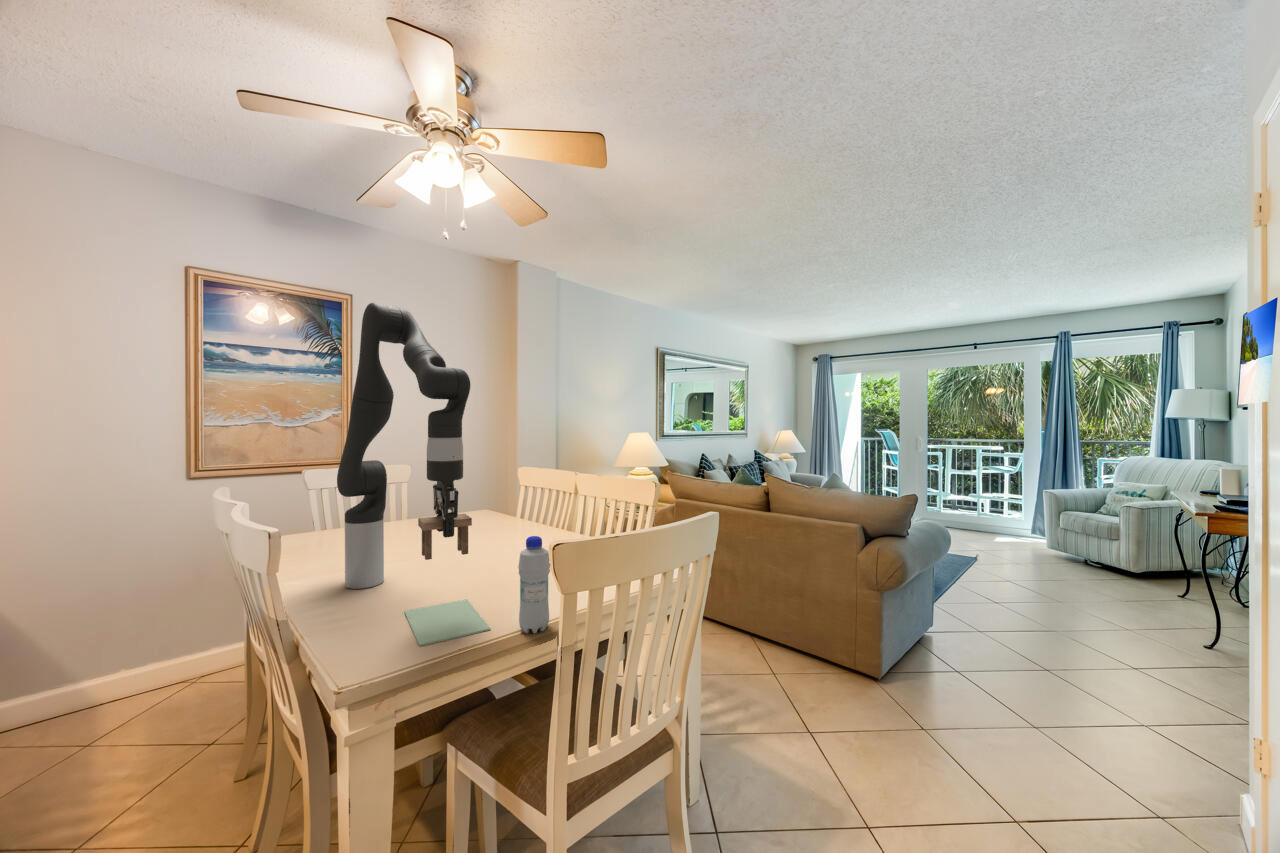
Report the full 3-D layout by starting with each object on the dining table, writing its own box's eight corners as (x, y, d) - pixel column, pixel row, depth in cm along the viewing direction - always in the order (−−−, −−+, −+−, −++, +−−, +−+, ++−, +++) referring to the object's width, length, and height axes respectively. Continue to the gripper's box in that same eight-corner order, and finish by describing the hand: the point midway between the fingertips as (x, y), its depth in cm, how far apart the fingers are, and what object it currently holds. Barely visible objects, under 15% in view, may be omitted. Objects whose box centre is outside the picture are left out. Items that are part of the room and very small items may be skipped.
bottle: (518, 637, 102) (518, 540, 102) (517, 624, 109) (517, 533, 108) (551, 634, 104) (551, 539, 104) (548, 621, 110) (548, 531, 110)
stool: (464, 548, 115) (464, 513, 115) (471, 554, 110) (471, 518, 110) (418, 554, 110) (418, 518, 109) (423, 561, 105) (423, 523, 104)
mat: (404, 612, 115) (404, 611, 115) (466, 600, 122) (466, 599, 122) (419, 646, 98) (419, 644, 98) (490, 630, 106) (490, 628, 106)
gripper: (471, 459, 106) (471, 538, 106) (455, 455, 118) (455, 525, 118) (433, 461, 101) (433, 543, 102) (421, 456, 113) (421, 529, 114)
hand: (445, 533), depth 110 cm, fingers closed on stool, 6 cm apart
